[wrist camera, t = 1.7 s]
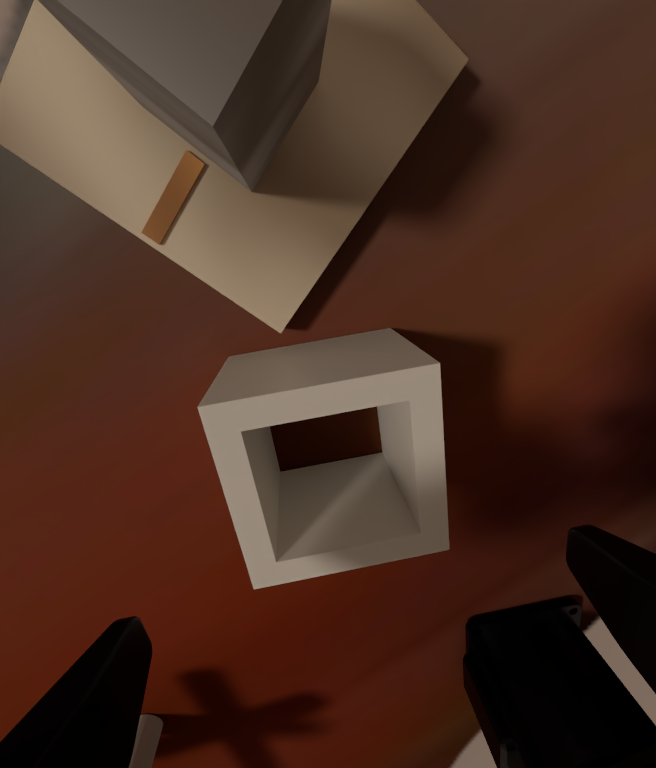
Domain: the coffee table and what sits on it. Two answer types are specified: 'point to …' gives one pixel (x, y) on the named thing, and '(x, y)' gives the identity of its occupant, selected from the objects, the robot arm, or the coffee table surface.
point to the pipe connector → (146, 741)
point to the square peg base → (227, 124)
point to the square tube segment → (334, 479)
